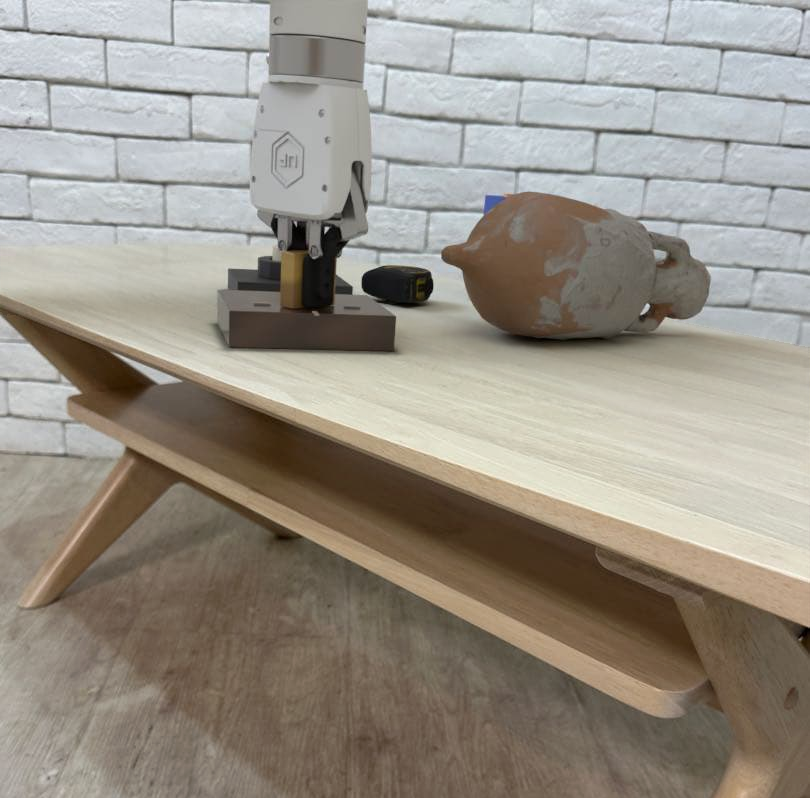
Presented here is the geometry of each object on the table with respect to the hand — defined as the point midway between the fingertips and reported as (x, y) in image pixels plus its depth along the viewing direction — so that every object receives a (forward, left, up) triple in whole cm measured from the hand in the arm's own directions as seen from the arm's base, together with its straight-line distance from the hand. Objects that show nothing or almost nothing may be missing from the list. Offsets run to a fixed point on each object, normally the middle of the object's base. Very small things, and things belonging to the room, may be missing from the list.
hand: (307, 302), depth 85 cm
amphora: (+27, +5, -4) cm, 28 cm away
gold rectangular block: (0, 0, 0) cm, 0 cm away
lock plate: (0, +2, -3) cm, 4 cm away
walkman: (+29, +29, -4) cm, 41 cm away
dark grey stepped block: (+2, +23, -3) cm, 24 cm away
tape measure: (+14, +22, -4) cm, 26 cm away
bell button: (+2, +24, 0) cm, 24 cm away
